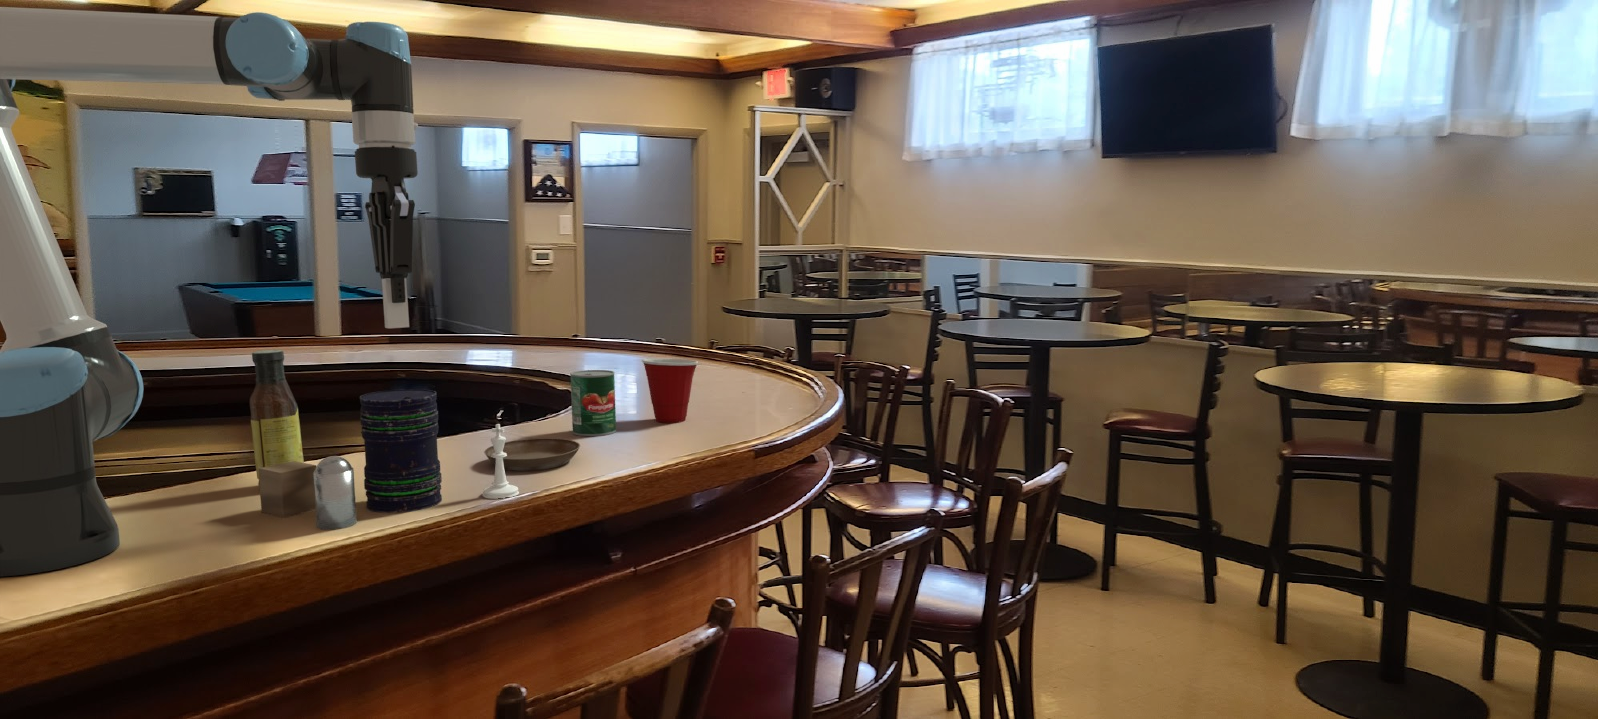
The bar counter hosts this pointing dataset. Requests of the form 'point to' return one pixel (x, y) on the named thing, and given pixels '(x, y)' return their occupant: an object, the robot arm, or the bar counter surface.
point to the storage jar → (401, 450)
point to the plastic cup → (670, 387)
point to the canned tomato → (593, 402)
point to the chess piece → (499, 470)
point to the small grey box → (287, 489)
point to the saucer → (536, 453)
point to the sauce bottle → (273, 413)
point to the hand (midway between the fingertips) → (397, 327)
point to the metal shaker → (334, 494)
